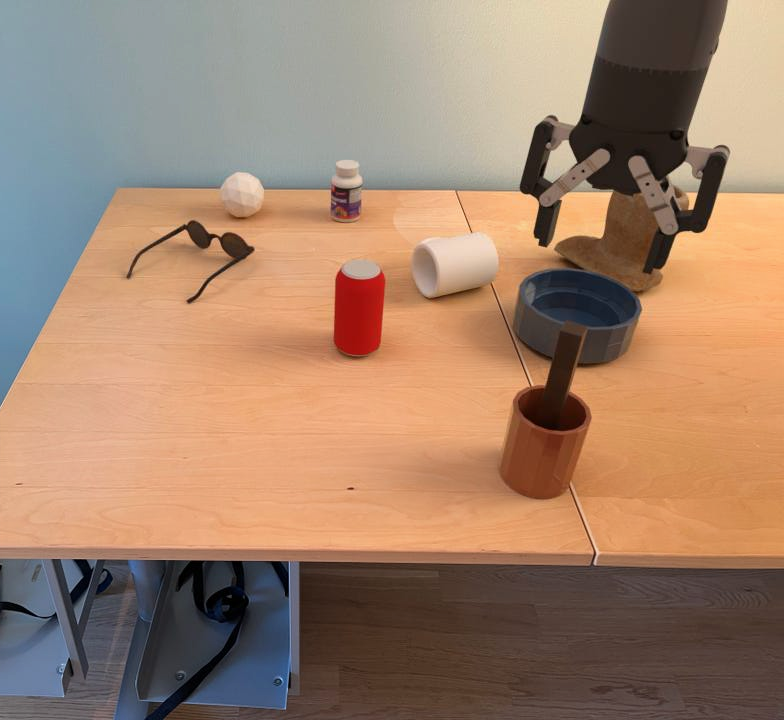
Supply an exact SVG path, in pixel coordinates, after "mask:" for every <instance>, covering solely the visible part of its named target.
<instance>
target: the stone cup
mask: <svg viewBox="0 0 784 720" xmlns="http://www.w3.org/2000/svg"><path fill="white" fill-rule="evenodd" d="M672 185H673V187H674V192H675V196H676V198H677V201H678V203H679V205H680V207H681V210H689V207H690V198H689V196H688V194H687V193H686V191H684V189H682V188H681V187H679V186H678V185H675V184H673V183H672ZM652 194H653V193H652ZM604 223H605V224H604V231H603V234H602V237H597V236H589V235H582V234H581V235H572V236H570V237H566V238H564V239H562V240H561V241H558V242H557V243H556V244H555V246H554V248H553V250H554V252H556V253H557V254H559V255H560V256H562V257H563V258H565V259H567V260H568V261H569V262H571V263H573V264H574V265H576V266H578V267H579V268H581V269H582V270H586V271H590V272H594V273H598V274H602V275H605V276H607V277H609V278H612V279H614V280H616V281H619V282H620V283H622V284H623V285H625V286H626V287H628V288H629V289H631V290H632V291H633V292H641V291H642V292H643V291H647V290H650V289H653V288H655V287H657V286H659V285H660V284H661V283H662V281H663V279H664V274H662V272H661V270H658V269H654V270H653V272H652V274H651V275H650V274H646V273H642V272H643V269H644V266H645V263H646V260H647V256H648V253H649V250H650V247H651V244H652V241H653V238H654V235H655V233H656V231H657V229H658V227H659V224H658V222H657V220H656V217H655V215H654V213H653V212H652V211H651V210H650V209H649V207H648V205H647V203H646V201H645V199H644V197H643V194H642V193H640V194H634V195H633V196H628V195H623V194H621V193H619V192H617V191H615V190H613V191H612V192H611V195H610V198H609V201H608V205H607V209H606V217H605V221H604Z"/></svg>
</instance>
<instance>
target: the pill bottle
mask: <svg viewBox="0 0 784 720" xmlns="http://www.w3.org/2000/svg"><path fill="white" fill-rule="evenodd" d="M334 171H335V174H333V175H332V177H331V182H330V217H331V218H332V220H334V221H336V222H341V223H353V222H356V221H358V220H359V219H360V218H361V214H362V200H363V199H362V198H363V197H362V196H363V195H362V194H363V177H362V176H361V174H359V173H360V164H359V162H358V161H356V160H353V159H341V160H338V161H336V163H335V170H334Z"/></svg>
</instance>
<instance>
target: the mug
mask: <svg viewBox="0 0 784 720" xmlns="http://www.w3.org/2000/svg"><path fill="white" fill-rule="evenodd" d="M411 273H412V278H413V282H414V284H415V286H416V288H417V290H418V291H419V292H420V294H421V295H423V297H425V298H428V299H433V298H438V297H442V296H448V295H451V294H455V293H459V292H464V291H468V290H472V289H476V288H481V287H486V286H489V285H491V284H492V283H493V282H494V281H495V279H497V278H496V277H497V276H498V273H499V255H498V250H497V248H496V245H495V243H494V241H493V240H492V238H491V237H490V236H489V235H488V234H486V233H485V232H482V231H476V232H471V233H466V234H461V235H456V236H452V237H446V238H445V237H437V236H436V237H435V236H434V237H427V238H424V239H423V240H421V241H419V242H418V243H417V244H416V245H415V246H414V248H413V252H412V255H411Z"/></svg>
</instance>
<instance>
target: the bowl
mask: <svg viewBox="0 0 784 720" xmlns="http://www.w3.org/2000/svg"><path fill="white" fill-rule="evenodd" d="M516 295H517V296H516V300H515V304H514V310H513V315H512V329H513V330H514V332H515V334H516V335H517V337H518V338H519V339H520V340H521V341H522V342H524V343H525V344H526V345H527V346H528V347H529V348H531V349H532V350H535V351H537V352H539V353H540V354H542V355H545V356H547V357H550V358H553V355H554V351H555V348H556V344H557V340H558V336H559V332H560V330H561V328H562V326H563V325H564V323H565V321H566V320H568V321H571V322H575V323H578V324H582V325H585V326H588V329H587V332H586V336H585V339H584V343H583V346H582V349H581V353H580V356H579V360H578V363H577V364H601V363H606V362H609V361H613V360H616V359H619V358H620V357H621V356H623V355H624V354H625V353H627V352H628V350H629V349H630V346H631V343H632V341H633V338H634V335H635V332H636V329H637V326H638V324H639V320H640V317H641V314H642V312H643V307H642V303H641V299H640V298H639V297H638V296H637V294H636V293H635V291H632V290H631V289H629V288H628V287H626V286H625V285H623V284H622V283H620V282H619V281H616V280H614V279H612V278H609V277H607V276H605V275H602V274H598V273H594V272H590V271H586V270H584V269H580V268H579V269H578V268H570V267H560V268H559V267H558V268H555V267H554V268H547V269H543V270H538V271H535V272H533V273H531V274H529V275H527V276H525V277H524V278H523V280H522V281H521V283H520V284H519V286H518V292H517V294H516Z"/></svg>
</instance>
